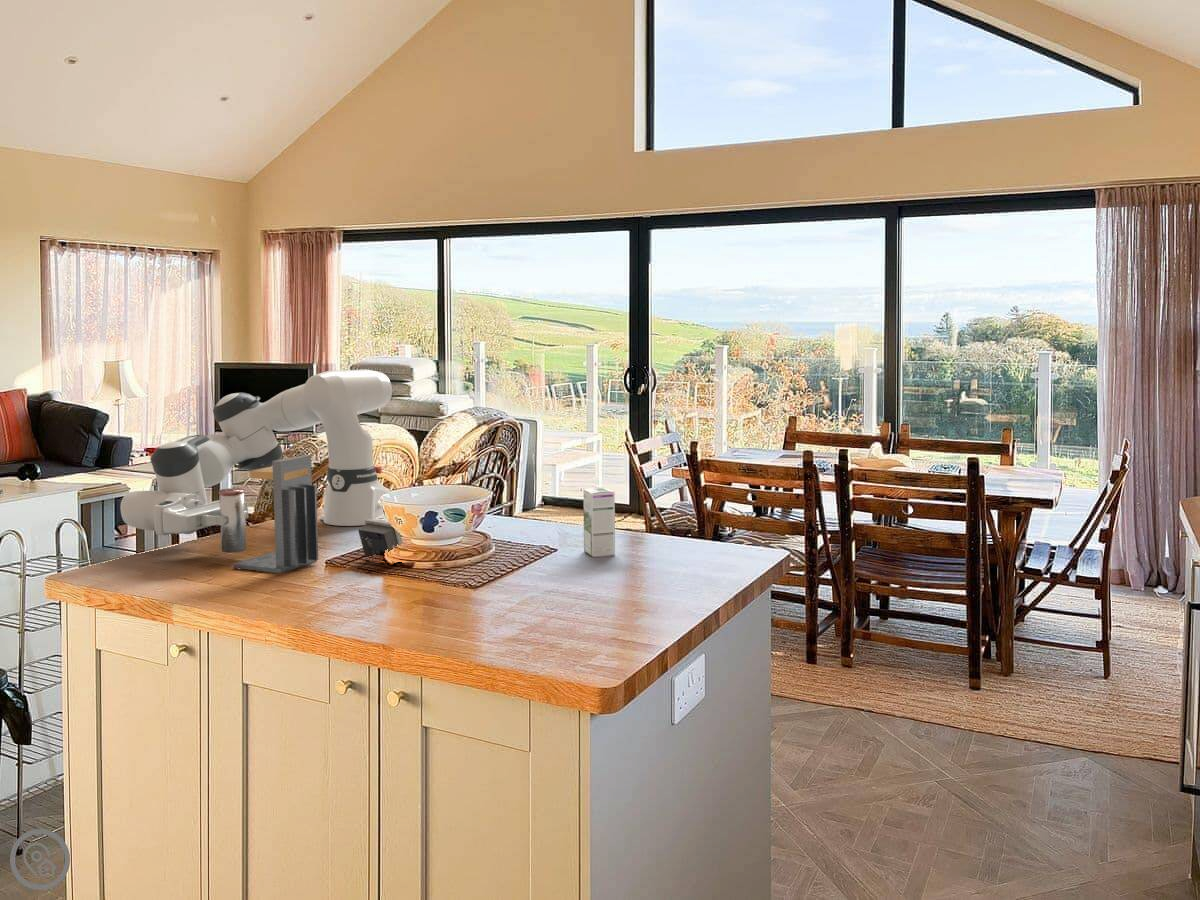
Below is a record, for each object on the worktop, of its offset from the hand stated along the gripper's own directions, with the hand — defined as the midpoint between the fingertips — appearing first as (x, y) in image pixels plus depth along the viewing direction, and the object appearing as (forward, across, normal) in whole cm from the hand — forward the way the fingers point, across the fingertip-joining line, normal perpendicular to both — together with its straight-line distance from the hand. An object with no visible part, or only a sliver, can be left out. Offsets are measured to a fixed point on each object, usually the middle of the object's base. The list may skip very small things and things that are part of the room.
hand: (236, 518), depth 216 cm
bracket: (+10, 0, -9) cm, 13 cm away
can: (-1, 0, -7) cm, 7 cm away
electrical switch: (+30, -10, -10) cm, 33 cm away
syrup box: (+70, -36, -10) cm, 79 cm away
